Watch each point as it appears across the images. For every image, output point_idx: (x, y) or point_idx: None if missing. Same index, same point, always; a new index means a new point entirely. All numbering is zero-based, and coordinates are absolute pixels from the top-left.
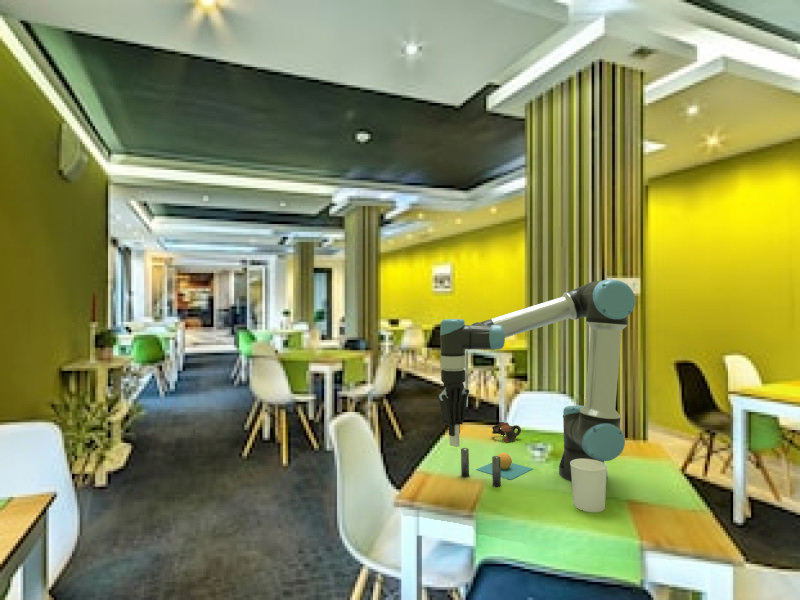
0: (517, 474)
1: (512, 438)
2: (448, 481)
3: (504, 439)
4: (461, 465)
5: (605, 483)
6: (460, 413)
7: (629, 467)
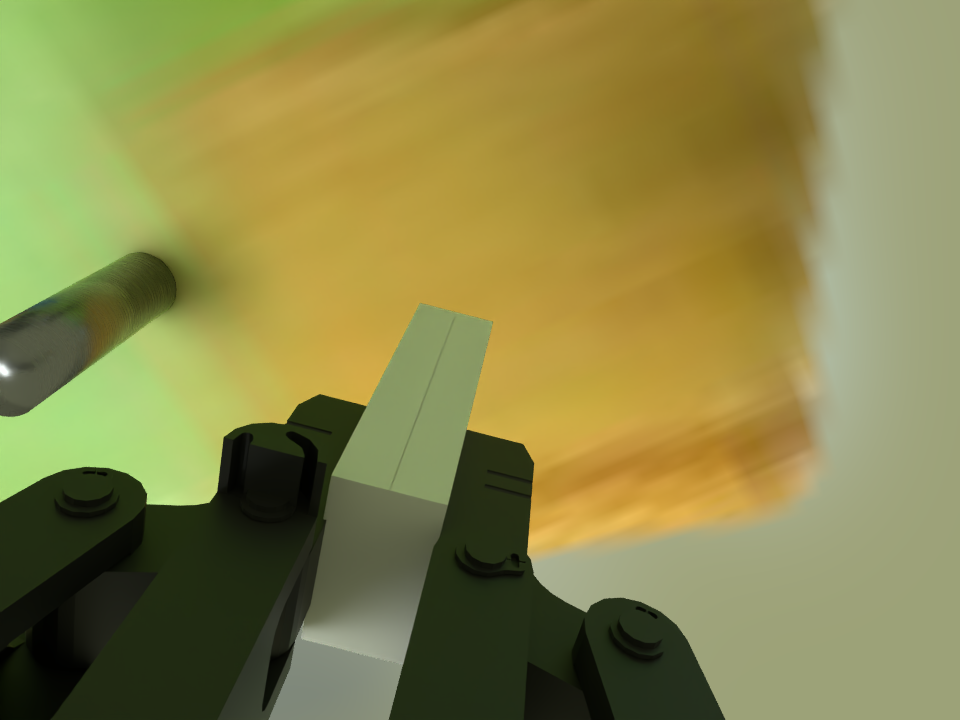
0: None
1: None
2: (327, 352)
3: None
4: (125, 338)
5: None
6: (123, 660)
7: None
